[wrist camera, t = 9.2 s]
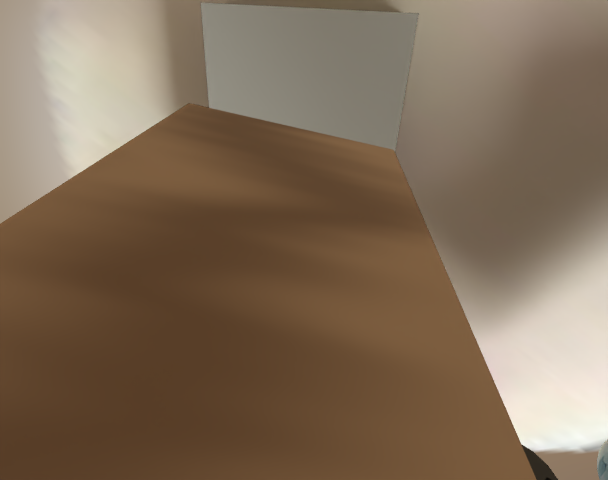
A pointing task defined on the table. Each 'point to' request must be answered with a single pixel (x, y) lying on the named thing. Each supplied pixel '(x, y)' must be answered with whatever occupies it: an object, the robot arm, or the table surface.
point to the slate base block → (311, 67)
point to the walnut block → (239, 319)
